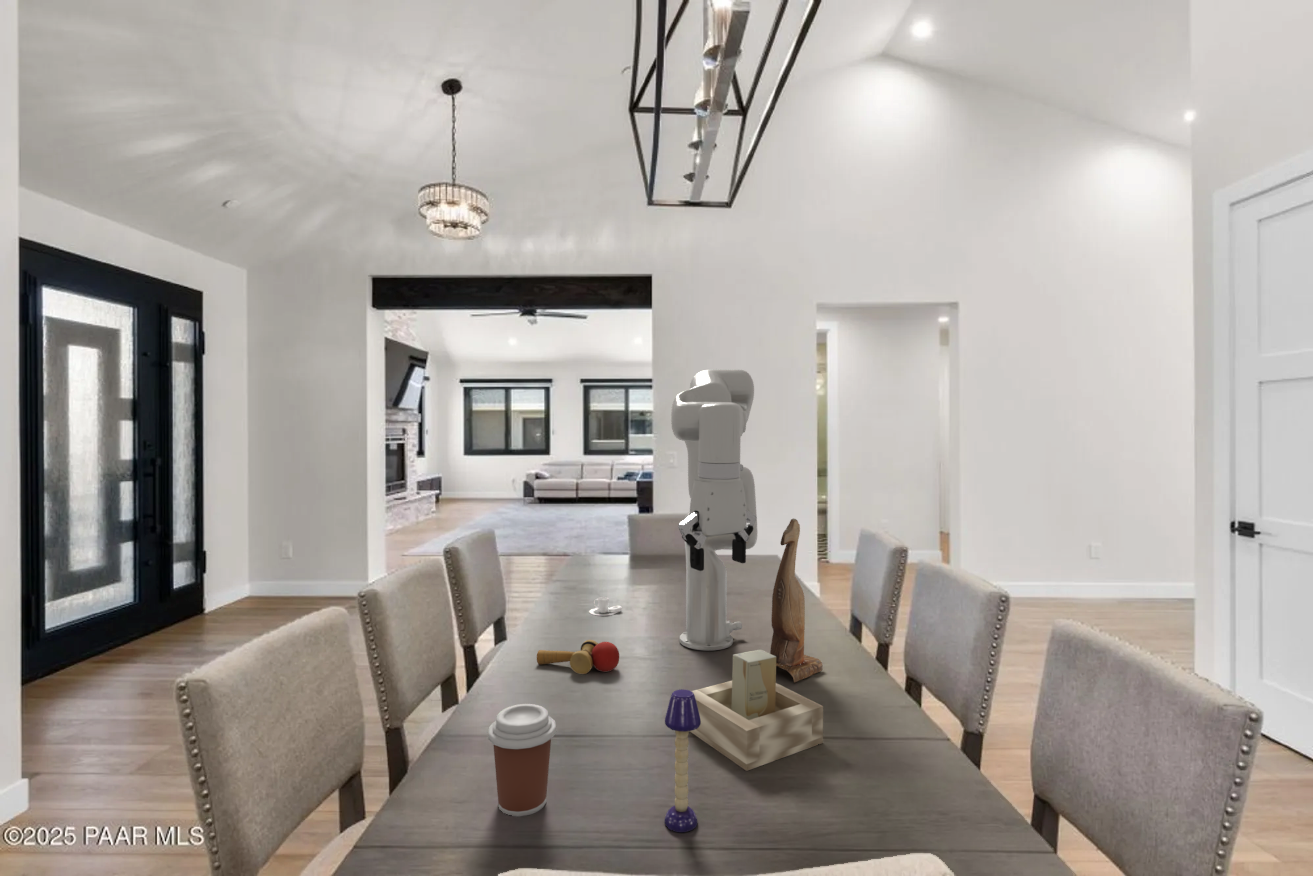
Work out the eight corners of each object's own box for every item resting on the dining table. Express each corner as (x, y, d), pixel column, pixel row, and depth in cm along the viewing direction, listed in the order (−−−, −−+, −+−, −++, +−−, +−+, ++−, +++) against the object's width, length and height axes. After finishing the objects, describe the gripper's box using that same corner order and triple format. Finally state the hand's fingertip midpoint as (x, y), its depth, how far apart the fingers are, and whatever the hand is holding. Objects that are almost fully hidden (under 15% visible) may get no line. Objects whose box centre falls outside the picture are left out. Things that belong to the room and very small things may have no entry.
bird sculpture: (748, 671, 134) (749, 518, 134) (778, 656, 143) (779, 513, 142) (795, 686, 127) (796, 524, 126) (824, 669, 135) (825, 518, 135)
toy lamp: (662, 811, 85) (663, 686, 85) (697, 809, 86) (698, 685, 85) (666, 834, 80) (666, 701, 80) (703, 832, 81) (703, 700, 81)
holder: (756, 706, 117) (757, 673, 117) (822, 743, 104) (823, 706, 104) (684, 728, 109) (685, 692, 109) (746, 771, 95) (746, 730, 95)
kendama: (531, 678, 134) (613, 674, 130) (530, 646, 135) (611, 641, 131) (547, 671, 141) (625, 667, 137) (545, 641, 142) (622, 636, 138)
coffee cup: (560, 783, 92) (560, 699, 92) (551, 822, 83) (551, 729, 83) (495, 784, 92) (495, 700, 91) (480, 823, 83) (480, 730, 82)
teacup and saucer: (626, 612, 178) (626, 597, 178) (608, 619, 171) (608, 604, 171) (600, 607, 183) (600, 593, 183) (583, 614, 176) (583, 599, 176)
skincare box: (746, 738, 103) (746, 662, 103) (730, 727, 107) (730, 654, 107) (777, 728, 106) (777, 655, 106) (760, 718, 110) (760, 647, 110)
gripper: (742, 467, 124) (741, 555, 125) (667, 472, 114) (667, 567, 115) (769, 471, 118) (767, 563, 119) (693, 477, 108) (692, 577, 109)
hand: (718, 565), depth 117 cm, fingers open, 9 cm apart
